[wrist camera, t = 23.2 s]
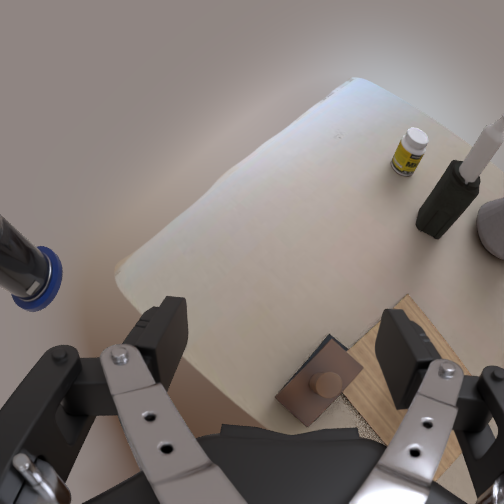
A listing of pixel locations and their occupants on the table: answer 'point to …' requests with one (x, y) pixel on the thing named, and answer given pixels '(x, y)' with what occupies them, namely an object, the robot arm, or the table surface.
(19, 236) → the robot arm
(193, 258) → the table surface
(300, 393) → the brown block with cylinder
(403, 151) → the supplement bottle
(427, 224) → the candle
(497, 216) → the grey ribbed jar
